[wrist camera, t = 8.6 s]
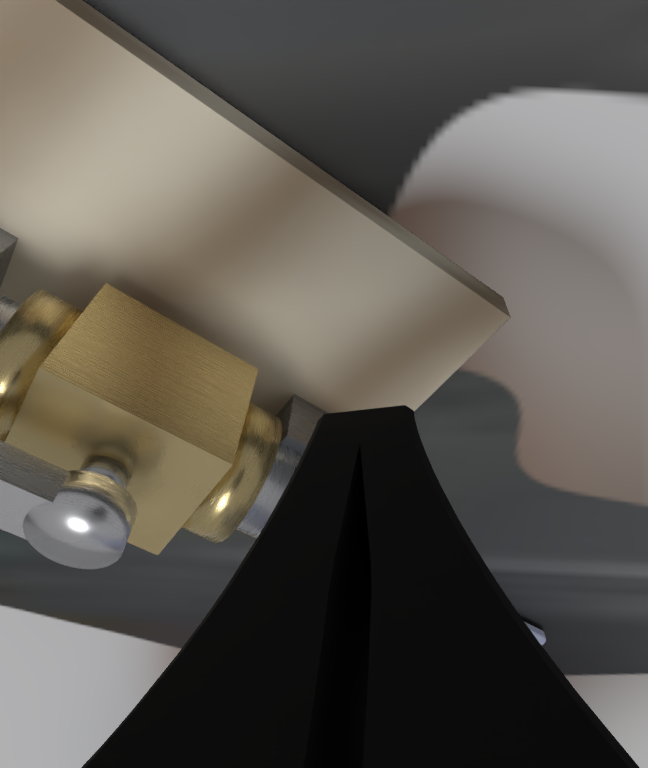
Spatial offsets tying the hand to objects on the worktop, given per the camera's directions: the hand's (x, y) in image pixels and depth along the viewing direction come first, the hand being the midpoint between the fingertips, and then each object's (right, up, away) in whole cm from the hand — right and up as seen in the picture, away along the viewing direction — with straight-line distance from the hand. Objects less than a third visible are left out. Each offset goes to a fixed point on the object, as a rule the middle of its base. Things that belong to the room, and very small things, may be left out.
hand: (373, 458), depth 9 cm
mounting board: (-6, +3, +10) cm, 12 cm away
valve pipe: (-6, +2, +9) cm, 11 cm away
